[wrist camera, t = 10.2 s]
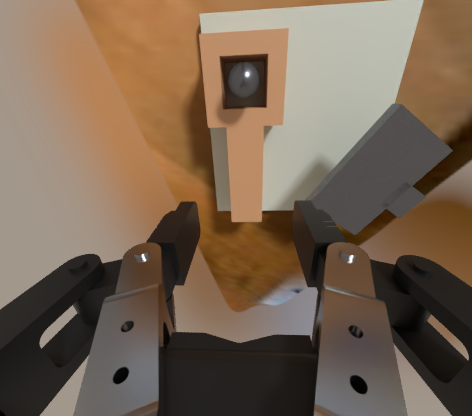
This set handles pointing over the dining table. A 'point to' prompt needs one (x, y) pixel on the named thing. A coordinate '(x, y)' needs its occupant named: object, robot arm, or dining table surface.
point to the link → (245, 108)
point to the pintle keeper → (369, 163)
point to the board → (318, 88)
